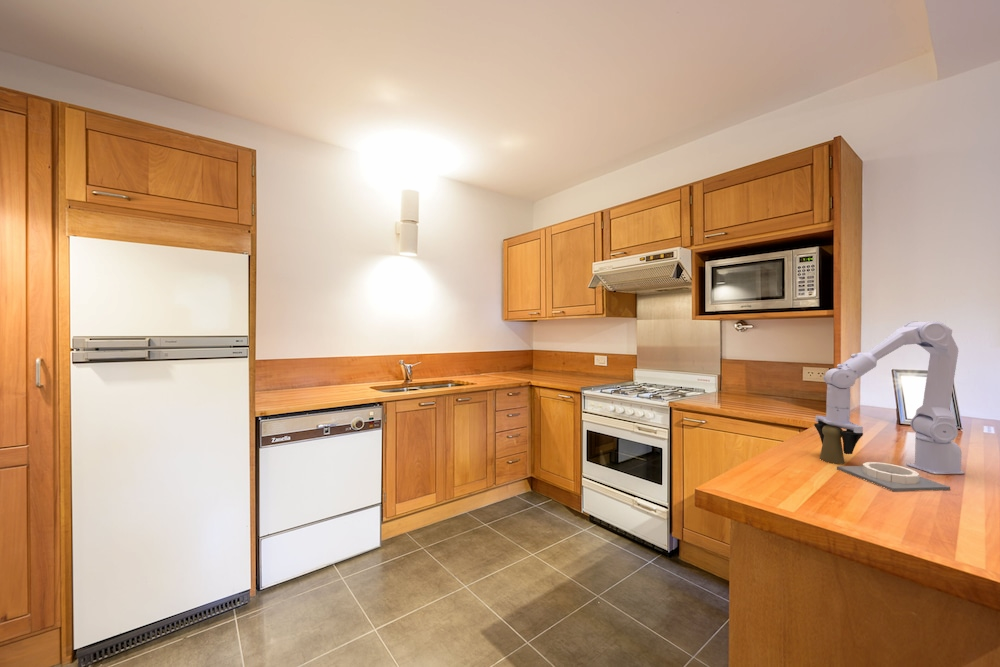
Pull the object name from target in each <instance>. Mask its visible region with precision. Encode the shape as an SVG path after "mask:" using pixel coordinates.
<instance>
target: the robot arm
mask: <svg viewBox="0 0 1000 667" xmlns="http://www.w3.org/2000/svg"><path fill="white" fill-rule="evenodd" d="M952 334H953V329H952V328H950V327H949V326H947V325H946V324H944V323H943V322H940V321H937V320H936V321H935V320H933V321H931V320H929V321H910V322H907V323H906V324H904V325H903V326H900V327H898V328H897V329H896V330H895V331H894V332H892V333H891V334H890V335H888V336H887V337H885V339H883V340H882V341H881V342H879V343H878V344H877V345H875V346H873V347H872V348H871V349H869V350H868V351H866V352H863V351H862V352H861V351H860V352H857V353H852V354H851V355H850V358H848V359H847V360H845V361H844V362H842V363H838V364H837V365H836V368H831V369H828V370H827V371H826V372H825V375H823V376H822V377H823V381H824V383H825V384H826V410H825V415H826V416H825V415H815V418H814V422H816V423H814V424H813V425H814V428H815V429H816V431H817V432H818V435H819V438H820V442H821V444H823V439H824V435H823V433H822V428H823V427H824V426H827V425H831V426H837V427H839V428H841V429H842V430H843V431H840V433H841V436H842V437H841V441H842V449H843V455H845V454H846V455H853V453H854V450H855V447H856V446H857V443H858V442H859V441H860V439H861V438H862V437H863V436H864V431H863V430H864V429H863V428H864V427H863V426H861V425H859V424H856V423H853V422H852V421H851V387H853V386H854V385H855V384H856V380H858V379H859V378H861V377H862V376H864V375H865V374H867V373H868V372H870V371H871V370H873V369H875V368H876V367H877V362H878V361H879V360H880V359H882V358H884V357H885V356H887V355H889V354H891V353H893V352H894V351H896V350H898V349H899V348H901V347H902V346H906V345H918V346H920V347H921V348H922V349H924V350H925V351H926V352H927V353H928V354H929V358H928V359H929V361H928V367H927V371H926V372H927V374H926V379H925V388H924V393H923V401H922V404H921V406H920V407H919V408H917V409H916V411H915V415H914V416H913V417H912V418H911V420H910V428H911V430H912V431H914V432H915V444H914V449H915V450H914V463H913V462H910V463H909V462H908V463H907V462H906V463H905V466H909V467H911V468H914V469H916V470H921V471H922V472H923V471H924V472H926V473H930V474H933V475H957V474H958V475H960V474H963V475H964V474H965V473H966V472H965V471H962V453H963V452H962V450H961V447H960V445H959V444H958V443H956V441H954V440H956V438H957V437H958V436H959V429H958V428H957V426H956V417H955V416H954V414H953V412H952V411H951V410H950V409H951V401H952V395H953V394H952V393H953V389H954V382H955V375H956V370H957V362H958V356H959V347H958V345H957V343H956V341H955V339H954V337H953V335H952Z"/></svg>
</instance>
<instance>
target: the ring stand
mask: <svg viewBox="0 0 1000 667" xmlns="http://www.w3.org/2000/svg"><path fill="white" fill-rule="evenodd" d="M836 470H838V471H840V470H841V471H840V472H843V473H846V474H849V475H850V474H851V476H852V477H855V476H856V478H858V477H859V479H860V478H862V479H861V480H863V479H865V480H867V481H866V482H868V481H870V482H873V483H875V484H878V485H880V486H882V487H881V488H883V487H885V488H887V489H886V490H888V489H890V490H892V491H891V492H916V491H915V490H933V491H951V486H948V485H945V484H943V483H940V482H937V481H934V480H931V479H928V478H925V477H923V476H921V475H920V473H919V472H917V471H915V470H914V469H911V468H908V467H905V466H903V465H902V466H901V465H897V464H892V463H887V462H886V463H885V462H878V461H877V462H876V461H867V462H864V463H862V465H845V466H844V465H843V466H842V465H838V466H836ZM865 480H864V481H865ZM870 482H869V483H870ZM873 483H872V484H873ZM875 484H874V485H875ZM878 485H877V486H878ZM880 486H879V487H880ZM885 488H884V489H885ZM890 490H889V491H890Z"/></svg>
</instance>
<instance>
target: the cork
mask: <svg viewBox="0 0 1000 667" xmlns="http://www.w3.org/2000/svg"><path fill="white" fill-rule="evenodd" d="M840 431H844V429H843V428H839V427H837V426H831V425H827V426H824V427H823V428H822V433H823V435H824V439H823V444H822V443H821V444H822V446H821V450H820V455H819V460H820V459H821V460H820V461H822V460H823V462H824V461H825V462H824V463H828V462H829V464H833V463H834V464H833V465H844V464H845V457H844V456H845V455H844V451H843V441H842V436H841V433H840Z"/></svg>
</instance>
